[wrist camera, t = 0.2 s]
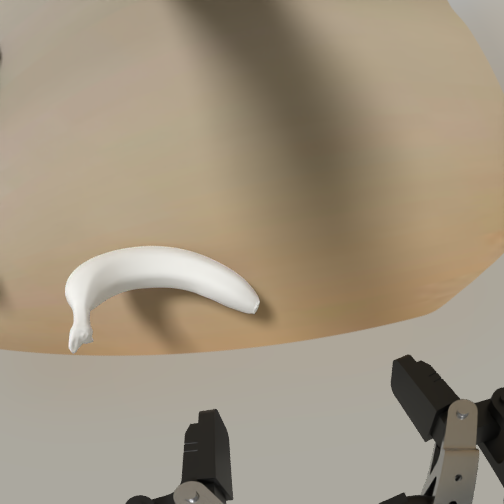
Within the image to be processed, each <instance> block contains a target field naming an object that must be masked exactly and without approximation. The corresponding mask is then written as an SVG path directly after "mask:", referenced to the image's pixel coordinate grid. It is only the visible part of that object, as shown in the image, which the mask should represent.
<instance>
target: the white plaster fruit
mask: <svg viewBox="0 0 504 504" xmlns="http://www.w3.org/2000/svg"><path fill="white" fill-rule="evenodd" d="M142 288H176V289H182V290H187V291H190V292H194V293H196V294H199V295H201V296H204V297H206V298H209V299H212V300H214V301H216V302H218V303H220V304H222V305H224V306H227V307H229V308H232V309H235V310H238V311H241V312H244V313H253V314H255V312H256V311H257V309H258V307H259V303H260V300H259V297H258V295H257V293H256V292H255V290H254V289H253V288H252V286H251V285H250V284H249V283H248V282H247V281H246V280H245V279H244V278H243V277H241V276H240V275H239V274H238V273H236V272H235V271H233V270H232V269H230V268H228V267H227V266H225V265H223V264H221V263H219V262H217V261H215V260H213V259H211V258H209V257H206V256H204V255H201V254H199V253H196V252H193V251H189V250H185V249H180V248H174V247H166V246H140V247H130V248H124V249H119V250H115V251H111V252H107V253H104V254H101V255H98V256H96V257H94V258H92V259H89V260H88V261H86V262H84V263H82V264H81V265H80V266H78V267H77V268H76V269H75V270H74V271H73V272H72V273H71V275H70V276H69V278H68V280H67V282H66V286H65V295H66V299H67V301H68V303H69V305H70V306H71V308H72V310H73V314H74V323H73V326H72V328H71V330H70V335H69V349H70V351H71V352H72V353H73V354H74V353H75V352H76V351H77V350H78V348H79V347H80V346H81V345H82V344H83V343H86V344H87V343H91V342H93V338H92V333H93V330H92V328H91V325H90V311H91V310H93V309H94V308H95V307H97V306H98V305H100V304H101V303H103V302H104V301H106V300H107V299H109V298H111V297H113V296H115V295H117V294H120V293H122V292H126V291H129V290H134V289H142Z"/></svg>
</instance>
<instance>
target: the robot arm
mask: <svg viewBox="0 0 504 504" xmlns="http://www.w3.org/2000/svg"><path fill="white" fill-rule="evenodd" d="M391 387H392V391H393V394H394V395H395V397H396V398H397V400H398V401H399V403H400V404H401V406H402V407H403V409H404V410H405V412H406V413H407V415H408V416H409V418H410V419H411V421H412V422H413V424H414V425H415V427H416V429H417V430H418V432H419V433H420V435H421V436H422V438H423V439H424V441H425V442H427V441H428V440H430V439H432V438H433V439H434V441H435V445H434V450H433V454H432V459H431V464H430V468H429V472H428V476H427V479H426V482H425V484H424V487H423V490H422V493H421V495H415V496H407V497H406V495H405V493H402V494H399V495H397V496H395V497H393V498H390V499H388V500H386V501H383V502H381V503H379V504H472V500H473V495H474V490H475V484H476V477H477V470H478V462H479V450H478V449H476V445H478V446H479V448H480V449H481V450H482V452H483V454H484V455H485V457H486V459H487V460H488V462H489V463H490V465H491V467H492V468H493V470H494V472H495V473H496V475H497V477H498V478H499V480H500V482H501V484H502V485H503V487H504V388H500V389H497V390H496V391H495V392H494V393H493V395H492V397H491V399H488V400H484V401H481V402H478V403H473V402H471V401H470V400H467V399H460V398H459V397H458V396H457V395H456V394H455V393H454V391H453V390H452V389H451V388H450V387H449V386H448V385H447V383H446V382H445V381H444V380H443V379H441V377H440V376H439V374H438V373H436V371H435V370H434V369H433V368H432V367H431V365H429V364H427V363H425V362H423V361H419V362H416V361H415V360H414V359H413V357H412V356H411V355H405V356H403V357H401V358H398V359H396V360H394V361H393V367H392V377H391ZM184 443H185V445H184V455H183V469H182V481H181V484H180V485H179V486H178V487H177V488H176V490H175V491H174V492H173V493H171V494H169V495H166V496H163V497H159V498H156V499H152V500H151V499H150V498H149V497H146V496H142V495H139V496H134V497H132V498H130V499H129V500H128V501H127V502H126V504H226V501H227V500H233V491H232V479H231V465H230V464H231V463H230V447H229V437H228V432H227V429H226V427H225V425H224V423H223V421H222V419H221V417H220V415H219V412H218V410H217V409H213V410H207V411H200V412H199V420H198V423H196V424H190V426H189V428H188V429H187V431H186V433H185V442H184ZM503 501H504V500H503Z"/></svg>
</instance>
